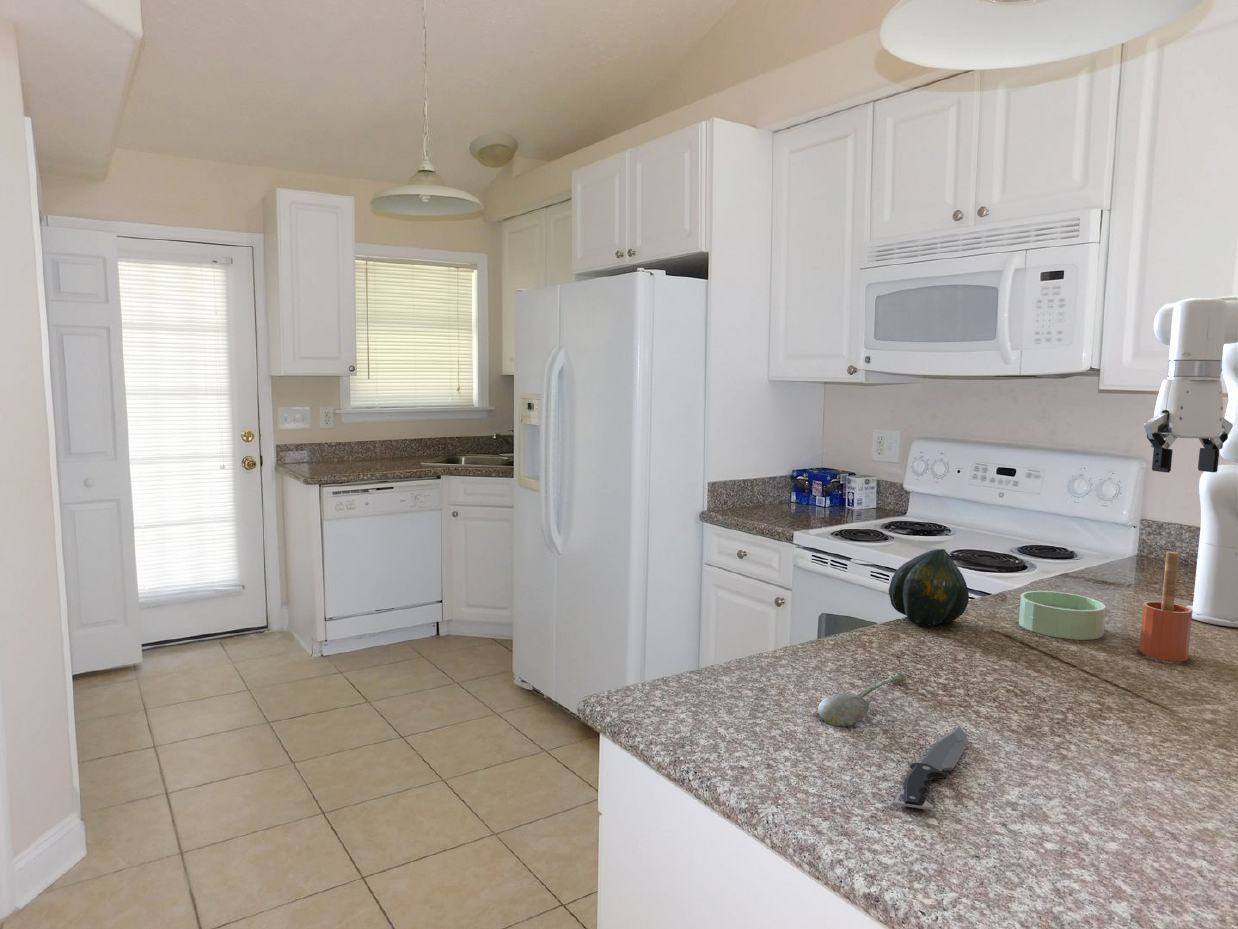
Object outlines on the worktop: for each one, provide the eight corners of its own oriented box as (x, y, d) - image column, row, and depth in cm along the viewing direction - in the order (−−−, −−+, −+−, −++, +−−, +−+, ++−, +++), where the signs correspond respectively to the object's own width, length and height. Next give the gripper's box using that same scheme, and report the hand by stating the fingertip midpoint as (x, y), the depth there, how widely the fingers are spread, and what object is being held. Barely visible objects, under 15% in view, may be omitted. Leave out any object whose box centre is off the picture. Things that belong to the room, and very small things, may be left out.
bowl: (1063, 618, 163) (1066, 589, 163) (1121, 641, 149) (1124, 609, 149) (1002, 621, 160) (1004, 592, 159) (1055, 644, 146) (1057, 612, 146)
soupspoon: (807, 721, 112) (851, 738, 108) (809, 698, 111) (853, 715, 107) (881, 676, 128) (921, 689, 123) (883, 656, 127) (923, 668, 123)
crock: (1162, 649, 145) (1166, 600, 144) (1197, 663, 138) (1202, 611, 137) (1129, 651, 143) (1133, 602, 142) (1163, 665, 137) (1168, 613, 136)
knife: (986, 736, 106) (946, 726, 109) (986, 729, 106) (947, 719, 109) (927, 819, 86) (880, 803, 89) (928, 810, 86) (881, 795, 89)
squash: (872, 596, 156) (931, 543, 151) (878, 582, 170) (932, 533, 165) (927, 652, 152) (990, 600, 148) (929, 633, 166) (986, 585, 162)
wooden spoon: (1151, 651, 142) (1160, 550, 140) (1159, 651, 142) (1169, 550, 140) (1166, 657, 139) (1176, 554, 137) (1174, 657, 139) (1184, 554, 137)
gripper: (1214, 373, 144) (1205, 469, 145) (1133, 370, 140) (1124, 469, 142) (1256, 373, 136) (1245, 474, 138) (1171, 370, 133) (1161, 474, 134)
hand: (1184, 471), depth 140 cm, fingers open, 9 cm apart
